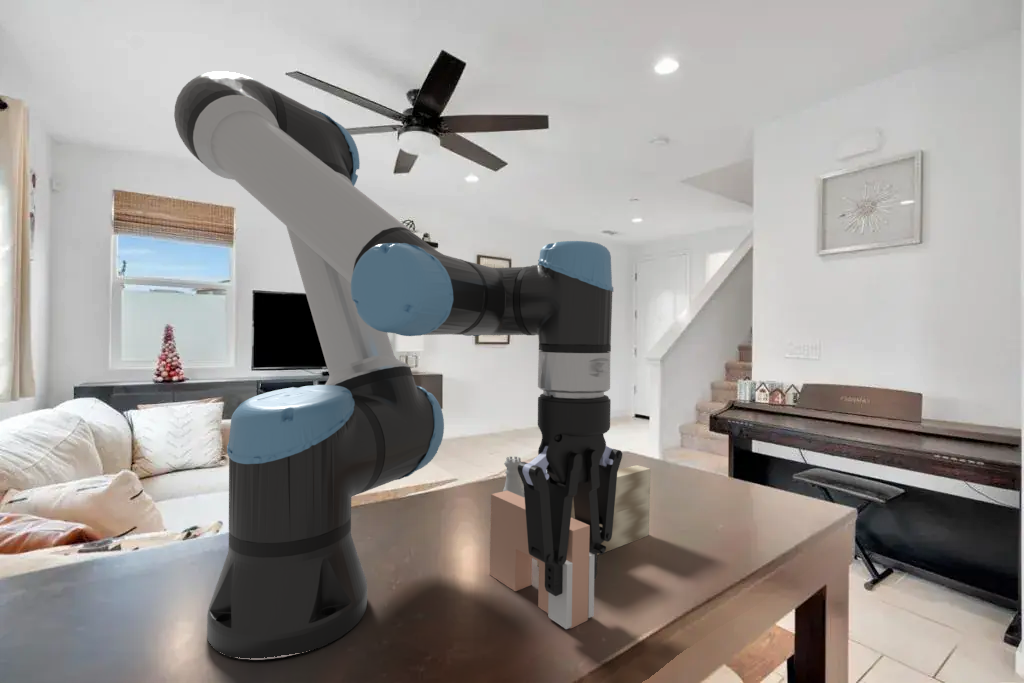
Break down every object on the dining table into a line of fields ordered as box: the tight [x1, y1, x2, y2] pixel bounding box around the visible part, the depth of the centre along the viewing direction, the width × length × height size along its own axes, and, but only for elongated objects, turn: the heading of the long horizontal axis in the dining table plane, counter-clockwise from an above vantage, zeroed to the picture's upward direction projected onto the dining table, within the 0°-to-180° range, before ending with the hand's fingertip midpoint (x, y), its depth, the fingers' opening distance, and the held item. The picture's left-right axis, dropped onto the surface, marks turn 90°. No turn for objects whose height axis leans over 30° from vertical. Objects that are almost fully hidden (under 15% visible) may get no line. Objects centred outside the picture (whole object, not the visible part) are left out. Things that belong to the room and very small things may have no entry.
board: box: [536, 464, 652, 568], centre depth 69 cm, size 20×2×10 cm, turn 128°
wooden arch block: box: [489, 491, 590, 629], centre depth 56 cm, size 14×2×10 cm, turn 39°
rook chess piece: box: [502, 456, 525, 498], centre depth 87 cm, size 4×4×8 cm
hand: (571, 616), depth 52 cm, fingers open, 3 cm apart
